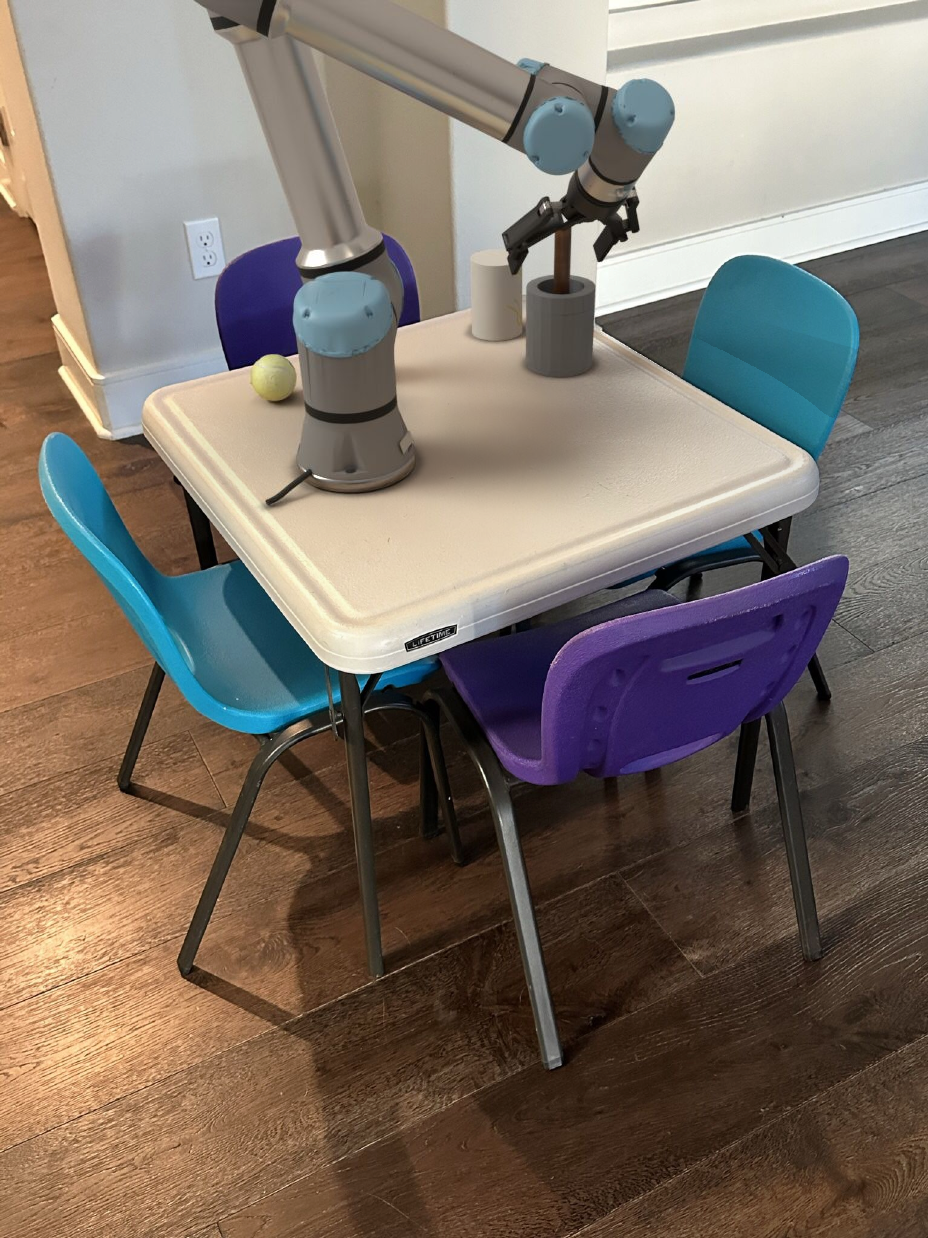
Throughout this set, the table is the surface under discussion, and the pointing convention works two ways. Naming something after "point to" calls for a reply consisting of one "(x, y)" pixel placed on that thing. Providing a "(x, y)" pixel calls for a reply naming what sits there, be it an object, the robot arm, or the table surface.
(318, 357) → the robot arm
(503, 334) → the cream marbled cylinder
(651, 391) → the table surface
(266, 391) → the tennis ball
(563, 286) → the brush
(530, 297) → the grey thick-walled tube
